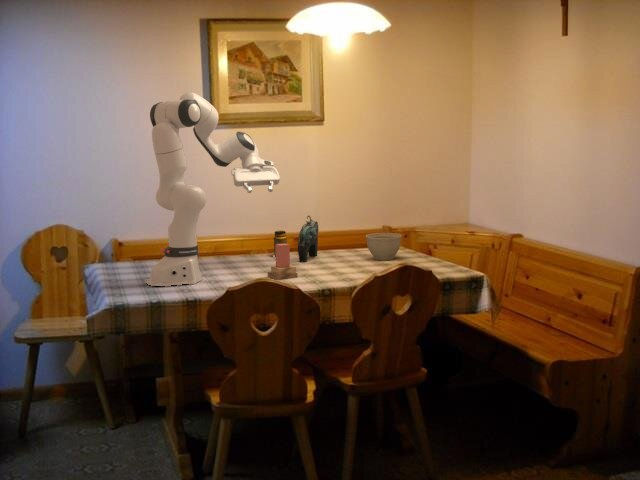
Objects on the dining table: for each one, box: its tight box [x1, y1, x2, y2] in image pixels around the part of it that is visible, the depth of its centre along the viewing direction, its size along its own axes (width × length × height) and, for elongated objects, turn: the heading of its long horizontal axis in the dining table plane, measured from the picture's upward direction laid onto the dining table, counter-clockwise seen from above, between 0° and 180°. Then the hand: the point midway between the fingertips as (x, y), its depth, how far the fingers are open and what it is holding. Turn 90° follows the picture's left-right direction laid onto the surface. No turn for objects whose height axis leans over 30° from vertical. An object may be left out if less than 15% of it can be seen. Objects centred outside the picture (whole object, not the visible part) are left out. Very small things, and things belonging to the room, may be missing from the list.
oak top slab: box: [270, 265, 297, 275], centre depth 312 cm, size 8×8×2 cm
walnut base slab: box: [267, 271, 298, 281], centre depth 313 cm, size 9×9×2 cm
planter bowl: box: [365, 232, 402, 261], centre depth 350 cm, size 16×16×11 cm
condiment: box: [268, 230, 288, 259], centre depth 362 cm, size 7×8×12 cm
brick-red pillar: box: [275, 243, 291, 268], centre depth 312 cm, size 4×4×9 cm
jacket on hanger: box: [297, 215, 319, 263], centre depth 353 cm, size 20×6×20 cm, turn 162°
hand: (260, 191), depth 328 cm, fingers open, 8 cm apart
